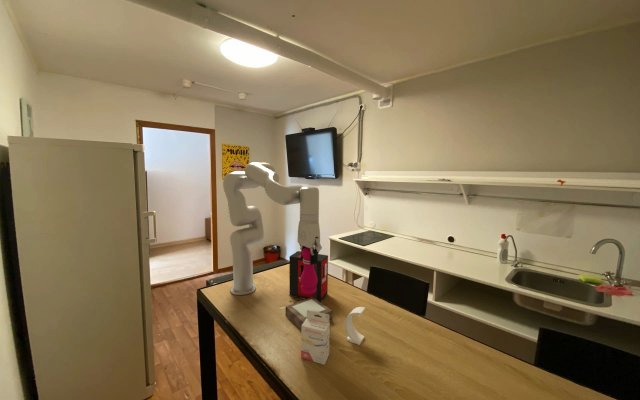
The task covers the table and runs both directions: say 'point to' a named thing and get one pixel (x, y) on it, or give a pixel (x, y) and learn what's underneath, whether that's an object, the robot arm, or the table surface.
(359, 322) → the table surface
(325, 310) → the walnut frame
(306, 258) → the pepper mill
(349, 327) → the headphone stand
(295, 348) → the table surface
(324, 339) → the ink cartridge box
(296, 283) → the cleaning product box
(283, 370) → the table surface
